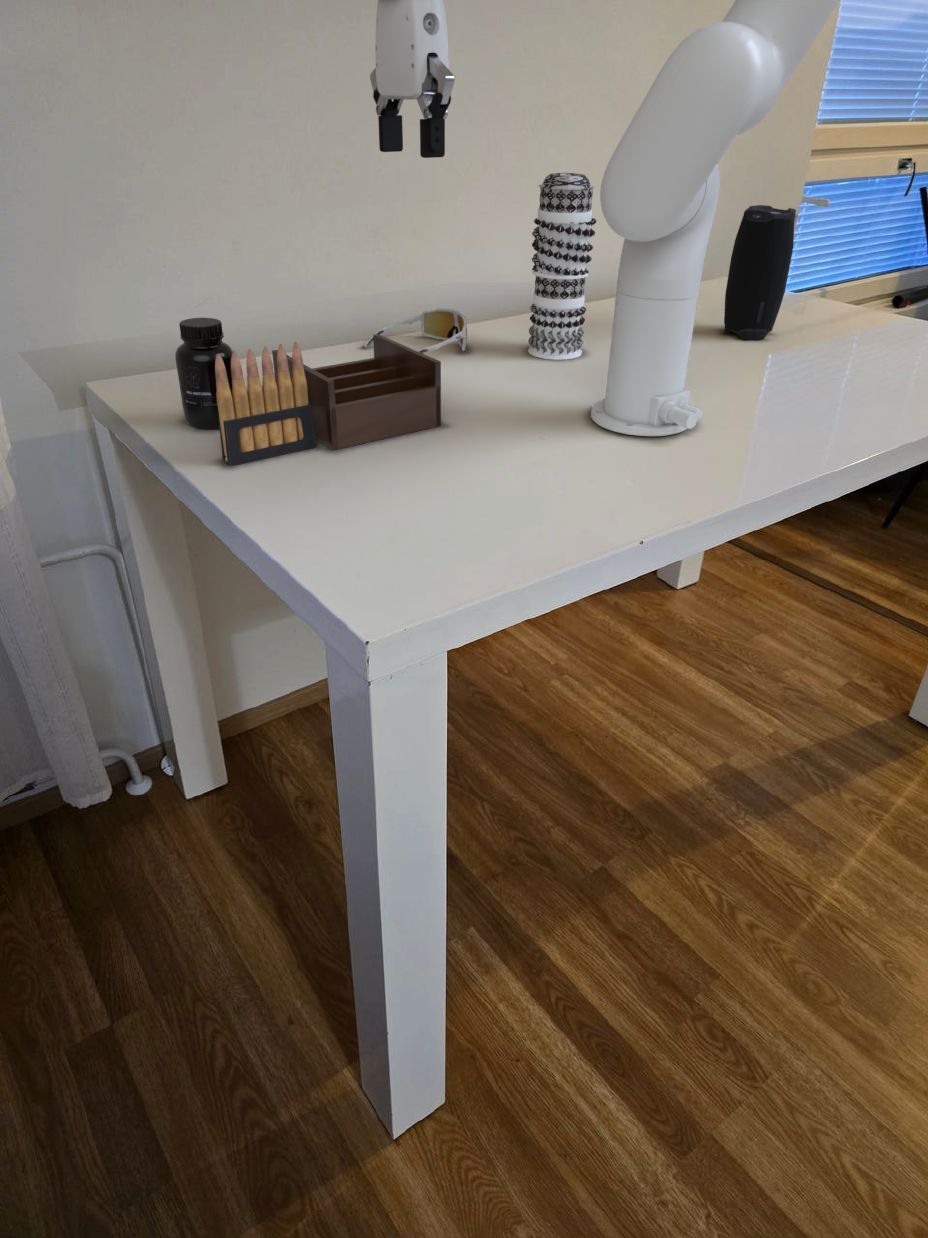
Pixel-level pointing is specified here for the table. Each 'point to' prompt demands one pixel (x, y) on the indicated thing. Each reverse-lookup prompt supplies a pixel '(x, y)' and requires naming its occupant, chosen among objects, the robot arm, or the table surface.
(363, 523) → the table surface
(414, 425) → the rack
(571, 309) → the decorative candle
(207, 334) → the supplement bottle
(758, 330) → the portable speaker
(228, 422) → the ammunition clip
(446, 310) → the sunglasses
